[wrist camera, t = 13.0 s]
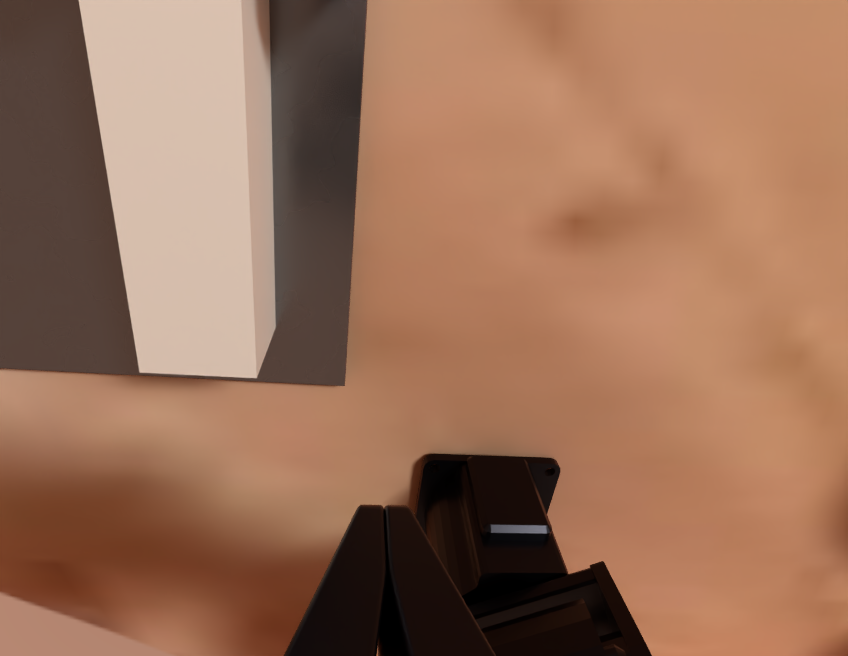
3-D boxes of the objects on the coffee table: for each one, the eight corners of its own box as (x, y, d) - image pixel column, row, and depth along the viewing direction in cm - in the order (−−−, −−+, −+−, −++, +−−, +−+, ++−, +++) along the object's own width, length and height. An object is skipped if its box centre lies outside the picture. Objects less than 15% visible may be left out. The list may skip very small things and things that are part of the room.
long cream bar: (275, 327, 19) (256, 378, 16) (178, 321, 19) (139, 372, 16) (262, -337, 12) (221, -481, 8) (96, -374, 11) (-11, -540, 8)
